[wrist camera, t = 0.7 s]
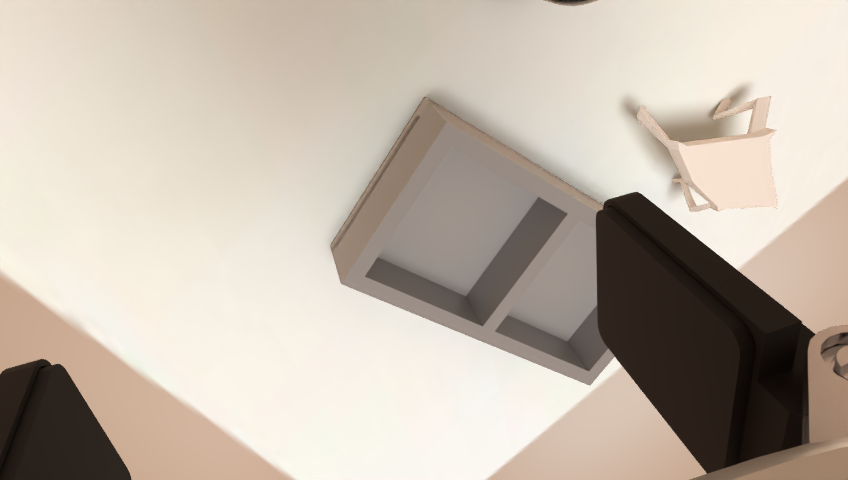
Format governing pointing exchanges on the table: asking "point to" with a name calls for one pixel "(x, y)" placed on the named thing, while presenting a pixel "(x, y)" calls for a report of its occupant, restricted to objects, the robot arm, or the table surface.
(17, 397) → the robot arm
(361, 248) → the divided tray
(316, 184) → the table surface
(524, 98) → the table surface
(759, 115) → the origami figure
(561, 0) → the supplement bottle
